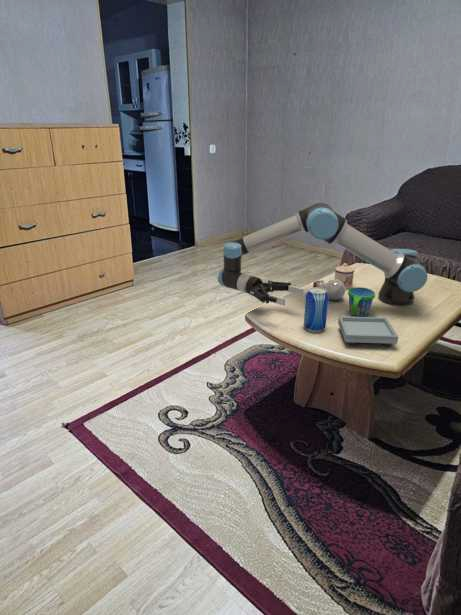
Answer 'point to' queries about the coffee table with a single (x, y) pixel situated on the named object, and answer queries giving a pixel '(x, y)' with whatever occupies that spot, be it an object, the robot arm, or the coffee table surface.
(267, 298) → the robot arm
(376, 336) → the grey rimmed tray
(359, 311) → the snack cup
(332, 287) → the potion bottle
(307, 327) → the beer can
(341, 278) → the teacup with lid
